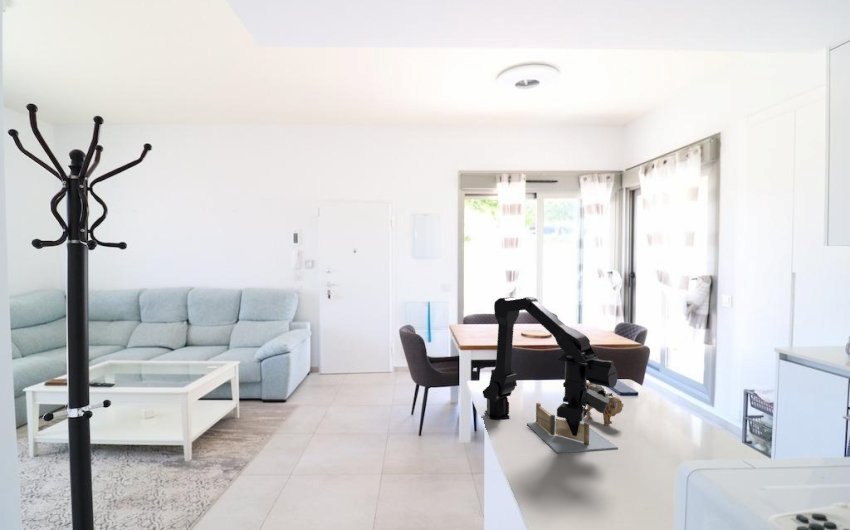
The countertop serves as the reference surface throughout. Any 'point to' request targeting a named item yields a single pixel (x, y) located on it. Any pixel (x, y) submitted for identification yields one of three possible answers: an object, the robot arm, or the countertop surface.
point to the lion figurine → (608, 409)
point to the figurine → (597, 387)
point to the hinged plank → (565, 431)
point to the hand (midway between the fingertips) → (574, 435)
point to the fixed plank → (545, 419)
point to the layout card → (572, 440)
